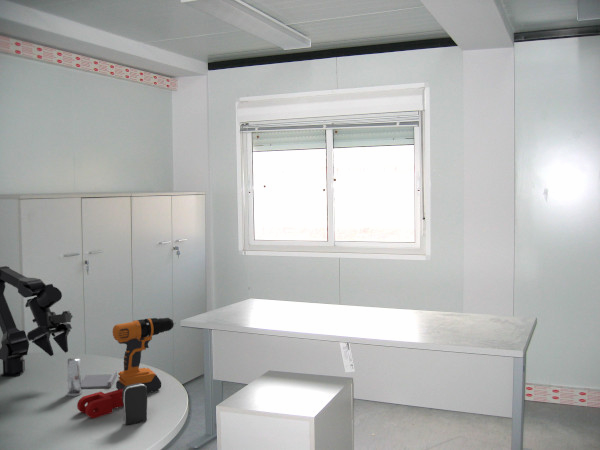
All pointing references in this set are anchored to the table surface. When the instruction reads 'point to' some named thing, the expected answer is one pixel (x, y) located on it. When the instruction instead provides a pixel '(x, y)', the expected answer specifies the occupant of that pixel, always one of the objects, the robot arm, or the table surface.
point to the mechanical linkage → (100, 403)
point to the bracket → (99, 381)
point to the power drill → (139, 350)
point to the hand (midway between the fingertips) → (59, 353)
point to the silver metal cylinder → (74, 377)
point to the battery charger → (134, 403)
